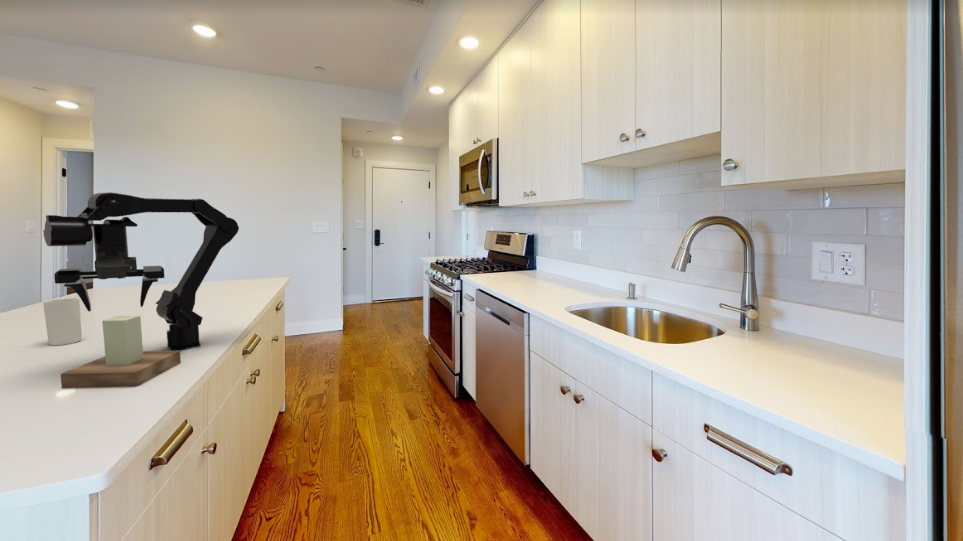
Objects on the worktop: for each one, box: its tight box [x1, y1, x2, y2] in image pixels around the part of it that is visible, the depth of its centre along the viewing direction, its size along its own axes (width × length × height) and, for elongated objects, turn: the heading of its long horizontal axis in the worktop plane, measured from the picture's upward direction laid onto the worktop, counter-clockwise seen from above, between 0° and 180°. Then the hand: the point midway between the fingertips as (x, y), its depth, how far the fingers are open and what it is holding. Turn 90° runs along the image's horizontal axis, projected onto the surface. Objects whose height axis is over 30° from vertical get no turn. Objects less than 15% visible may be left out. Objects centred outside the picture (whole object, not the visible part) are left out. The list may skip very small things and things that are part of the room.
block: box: [102, 315, 144, 365], centre depth 84 cm, size 4×4×10 cm
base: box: [59, 350, 182, 389], centre depth 85 cm, size 14×14×3 cm
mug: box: [42, 297, 83, 346], centre depth 106 cm, size 10×7×12 cm, turn 50°
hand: (116, 308), depth 93 cm, fingers open, 9 cm apart
